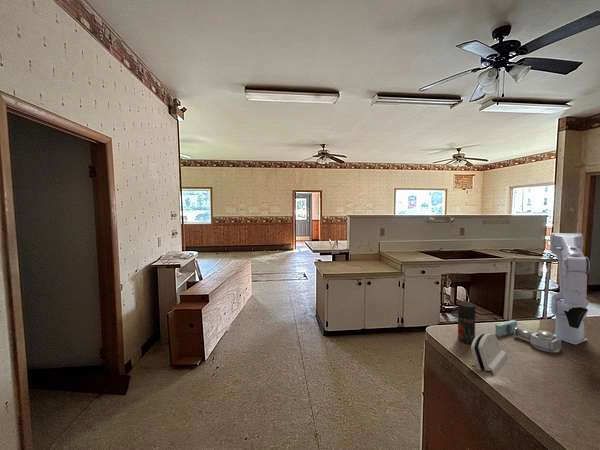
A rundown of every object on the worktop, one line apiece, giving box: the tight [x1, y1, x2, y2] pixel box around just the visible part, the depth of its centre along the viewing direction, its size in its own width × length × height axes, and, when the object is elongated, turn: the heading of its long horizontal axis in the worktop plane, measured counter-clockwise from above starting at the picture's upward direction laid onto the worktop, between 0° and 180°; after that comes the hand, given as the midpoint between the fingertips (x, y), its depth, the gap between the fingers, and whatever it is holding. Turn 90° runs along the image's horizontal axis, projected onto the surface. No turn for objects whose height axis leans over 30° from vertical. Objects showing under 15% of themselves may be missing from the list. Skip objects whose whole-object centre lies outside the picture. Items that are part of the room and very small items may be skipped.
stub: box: [531, 330, 561, 354], centre depth 103 cm, size 8×8×6 cm
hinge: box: [470, 333, 509, 376], centre depth 94 cm, size 17×5×10 cm, turn 130°
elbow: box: [512, 327, 562, 351], centre depth 106 cm, size 14×7×4 cm, turn 25°
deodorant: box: [457, 301, 476, 346], centre depth 109 cm, size 6×6×15 cm
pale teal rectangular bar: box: [495, 319, 518, 337], centre depth 116 cm, size 12×2×4 cm, turn 113°
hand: (574, 327), depth 98 cm, fingers closed
